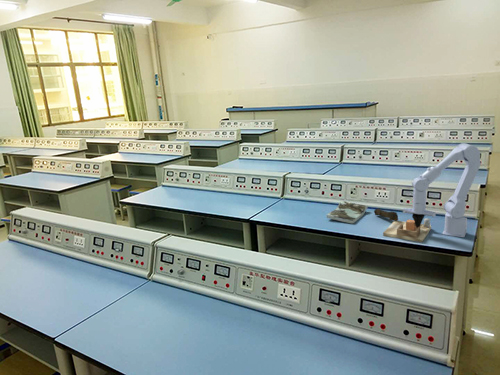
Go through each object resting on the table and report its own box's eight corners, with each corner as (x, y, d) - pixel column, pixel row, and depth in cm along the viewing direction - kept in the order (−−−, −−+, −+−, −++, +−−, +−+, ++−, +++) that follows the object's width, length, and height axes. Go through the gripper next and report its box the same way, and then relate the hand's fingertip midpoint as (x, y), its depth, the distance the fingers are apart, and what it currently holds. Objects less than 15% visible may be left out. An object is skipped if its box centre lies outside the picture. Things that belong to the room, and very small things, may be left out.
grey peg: (430, 226, 188) (430, 218, 187) (429, 227, 185) (429, 220, 185) (424, 225, 189) (424, 217, 188) (423, 227, 187) (423, 219, 186)
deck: (431, 229, 189) (431, 219, 188) (421, 242, 174) (422, 232, 173) (394, 223, 200) (394, 215, 199) (383, 236, 184) (383, 227, 183)
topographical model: (353, 224, 203) (352, 216, 202) (326, 221, 212) (326, 213, 211) (367, 211, 224) (367, 203, 223) (343, 208, 232) (342, 200, 231)
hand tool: (374, 215, 214) (373, 208, 213) (380, 214, 215) (379, 206, 214) (393, 222, 196) (392, 214, 195) (400, 221, 196) (399, 212, 196)
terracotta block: (416, 228, 187) (416, 220, 186) (414, 230, 183) (414, 223, 183) (407, 226, 189) (408, 219, 188) (405, 229, 186) (406, 221, 185)
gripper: (437, 201, 179) (435, 227, 183) (405, 198, 188) (404, 223, 191) (434, 205, 174) (432, 232, 177) (402, 202, 182) (401, 228, 186)
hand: (418, 228), depth 184 cm, fingers closed
